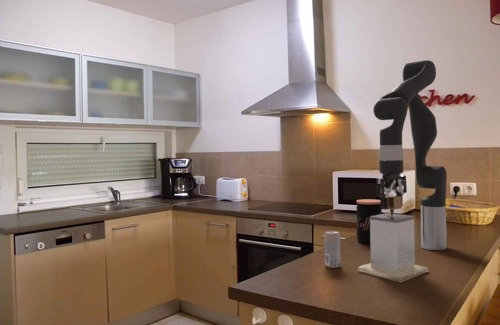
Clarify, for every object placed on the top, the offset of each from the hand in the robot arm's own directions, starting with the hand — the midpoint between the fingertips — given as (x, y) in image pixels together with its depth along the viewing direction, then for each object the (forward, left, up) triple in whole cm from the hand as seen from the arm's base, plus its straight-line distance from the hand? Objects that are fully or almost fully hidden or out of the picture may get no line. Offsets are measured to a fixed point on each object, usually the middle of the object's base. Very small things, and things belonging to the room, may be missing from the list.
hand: (391, 207), depth 138 cm
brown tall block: (0, 0, -17) cm, 17 cm away
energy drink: (+9, -18, -21) cm, 29 cm away
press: (0, 0, -21) cm, 21 cm away
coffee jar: (-32, -32, -21) cm, 50 cm away
